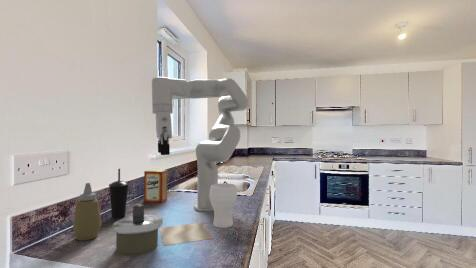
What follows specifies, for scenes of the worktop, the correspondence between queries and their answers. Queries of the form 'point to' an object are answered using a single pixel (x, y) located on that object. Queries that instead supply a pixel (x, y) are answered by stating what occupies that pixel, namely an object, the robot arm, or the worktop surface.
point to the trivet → (184, 233)
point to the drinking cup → (118, 197)
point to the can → (136, 243)
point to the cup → (223, 203)
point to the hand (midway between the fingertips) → (163, 153)
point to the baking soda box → (155, 186)
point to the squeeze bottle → (87, 215)
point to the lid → (137, 222)
